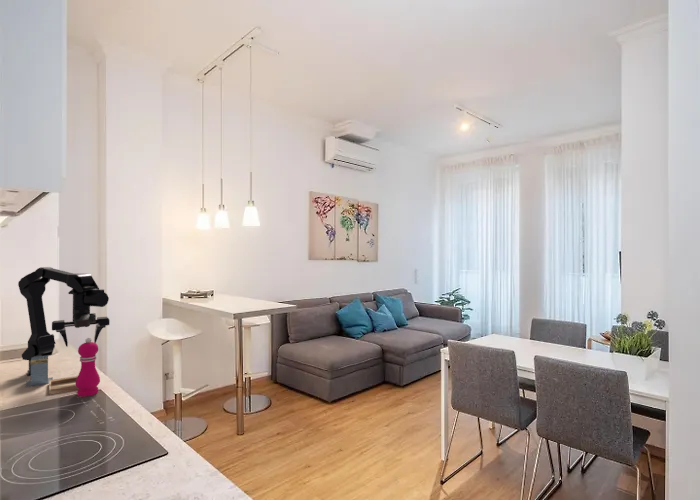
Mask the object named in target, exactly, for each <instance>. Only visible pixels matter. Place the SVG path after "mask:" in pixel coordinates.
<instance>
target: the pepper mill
mask: <svg viewBox="0 0 700 500" xmlns="http://www.w3.org/2000/svg"><path fill="white" fill-rule="evenodd" d="M77 349H78V350H77V352H78V355H79V356H80V357H79V362H80V364H81V365H80V371H79V372H78V375H77V376H78V377H77V379H76V387H77V388H78V389H79V390H76V395H77V397H81V398H82V397H90V396H94V395H96V394H98V393H99V387H98V386H99V384H100V383H101V377H100V375H99V372H98V371H97V368H96V360H97V359H98V358H97V357H98V355H97V354H98V352H99V346H98V344H97V342H96V343H94V341H92V338H90V337H87V338H86V339H85V342H83V343H82V344H80V345H79V347H78V348H77Z"/></svg>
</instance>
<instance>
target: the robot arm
mask: <svg viewBox="0 0 700 500" xmlns="http://www.w3.org/2000/svg"><path fill="white" fill-rule="evenodd" d="M51 280H52V281H56V282H58V283H59V282H61V283H64V284H65V285H66V286H67V287H69V288H71V290H69V292H68V293H67V294H68V295H72V321H65V319H62V320H53V321H51V331H55V332H56V333H60V336H61V337H62V339H63V342H64V344H65V347H67V348H68V346H69V345H68V343H69V342H68V337H67V331H66V328H70V327H74V328H76V329H79V328H89V327H90V326H91V325H95V331H94V337H93V342H94V343H96V344H97V340H98V339H99V336H100V333H101V331H102V330H103V328H106V326H110V322H111V321H110V318H109V317H108V316H100V317H99V316H98V317H97V315H96V313H94V312H93V313H91V307H95V308H103V307H106V306H107V304H108V303H109V300H110V299H109V298H110V297H109V296H108V294H107V293H106V292H105V289H103V288H102V289H100V288H99V285H97V283H96V281H95V279H94V278H93V275H92V274H90V273H73V272H68V271H65V270H60V269H56V268H54V267H51V266H45V267H44V266H43V267H42V266H41V267H39V268H37V269H35V270H34V271H33V272H30V273H28V274H26V275H24V276H23V277H21V278H20V280H18V284H17V286H18V289H19V292H20V294H21V295H22V296H23V297H24V299H26V304H27V305H26V306H27V311H28V318H29V324H30V333H31V334H30V336H29V337H28V340H27V348H25V350H24V351H23V352H22V353H21V357H22V358H21V359H22V360H23V361H28V370H27V372H26V376H31V358H32V357H39V356H47V355H48V357H49V356H53V352H54V349H55V347H56V345H55V344H56V343H57V342H56V341H55V335H54V333H52V334H50V333H49V331H48V329H47V328H48V327H47V323H46V316H45V310H44V303H43V296H44V294H45V291H46V285H47V284H49V282H51Z"/></svg>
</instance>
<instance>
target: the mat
mask: <svg viewBox="0 0 700 500" xmlns="http://www.w3.org/2000/svg"><path fill="white" fill-rule="evenodd" d="M49 380H54V378H53V377H48V383H47V384H41V385H40V386H43V385H49ZM37 386H39V385H35V386H34V387H37ZM31 387H33V386H31V380H27V381H26V382H25V387H24V388H31Z"/></svg>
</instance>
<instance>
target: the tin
mask: <svg viewBox="0 0 700 500" xmlns="http://www.w3.org/2000/svg"><path fill="white" fill-rule="evenodd" d="M48 378H49V356H48V355H47V356H39V357H32V358H31V375H30V381H31V386H32V387H36V386H35V385H38V386H42V385H41V384H45V385H48V384H47V383H48Z"/></svg>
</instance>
